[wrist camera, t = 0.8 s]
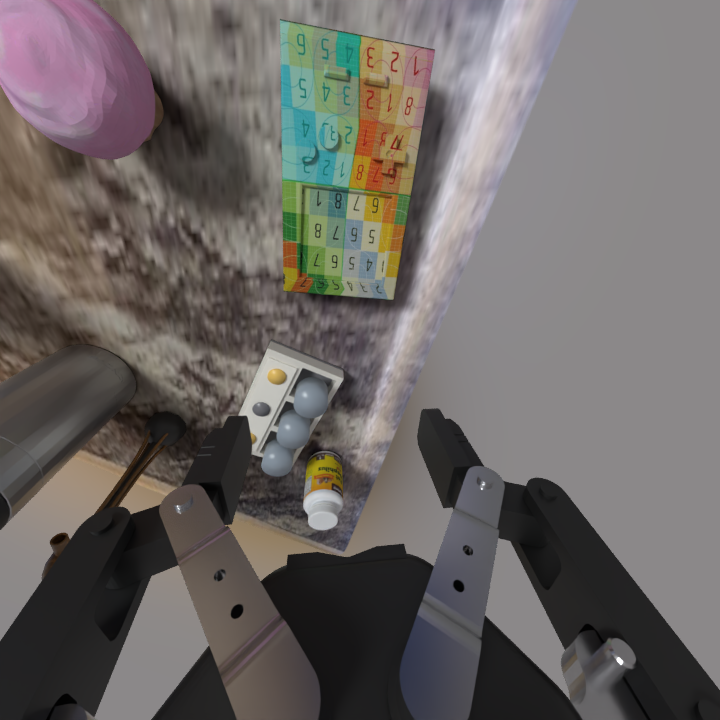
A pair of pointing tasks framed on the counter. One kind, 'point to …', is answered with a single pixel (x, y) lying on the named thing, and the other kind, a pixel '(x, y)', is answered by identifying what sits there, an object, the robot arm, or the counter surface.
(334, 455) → the supplement bottle
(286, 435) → the button middle
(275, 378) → the card
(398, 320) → the counter surface
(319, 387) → the button near
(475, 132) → the counter surface
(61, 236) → the counter surface
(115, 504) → the wooden tabletop sculpture
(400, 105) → the puzzle game
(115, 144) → the cupcake
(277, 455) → the button far
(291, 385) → the button board
